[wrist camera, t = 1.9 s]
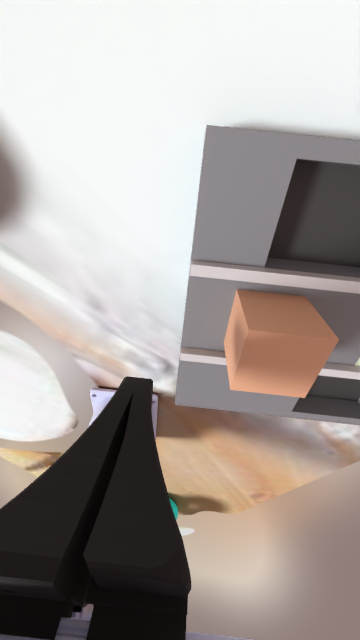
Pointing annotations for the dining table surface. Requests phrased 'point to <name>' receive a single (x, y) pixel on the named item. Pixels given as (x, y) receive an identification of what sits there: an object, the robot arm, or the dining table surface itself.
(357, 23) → the dining table surface
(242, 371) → the terracotta block
